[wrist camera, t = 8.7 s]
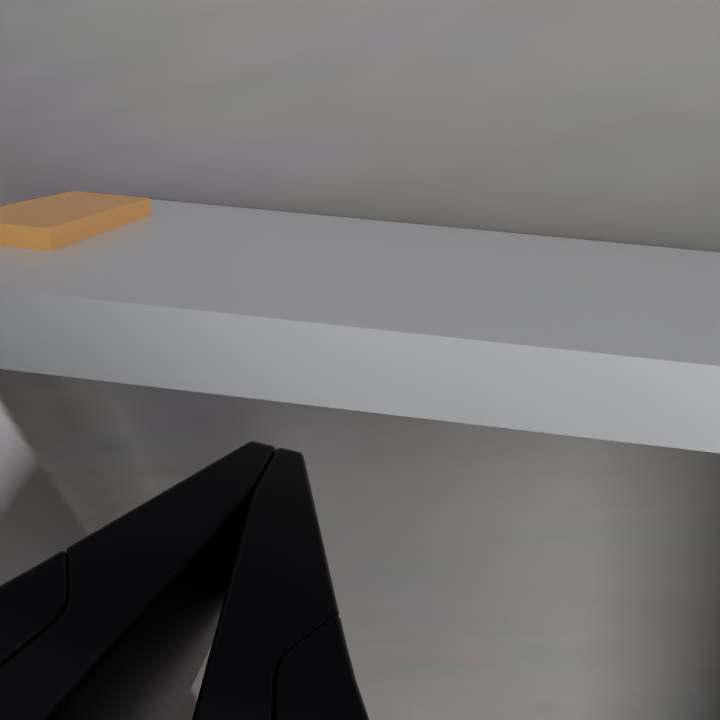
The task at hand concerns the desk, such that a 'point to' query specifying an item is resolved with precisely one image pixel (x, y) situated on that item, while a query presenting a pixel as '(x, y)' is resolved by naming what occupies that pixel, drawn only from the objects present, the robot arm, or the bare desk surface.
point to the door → (366, 316)
